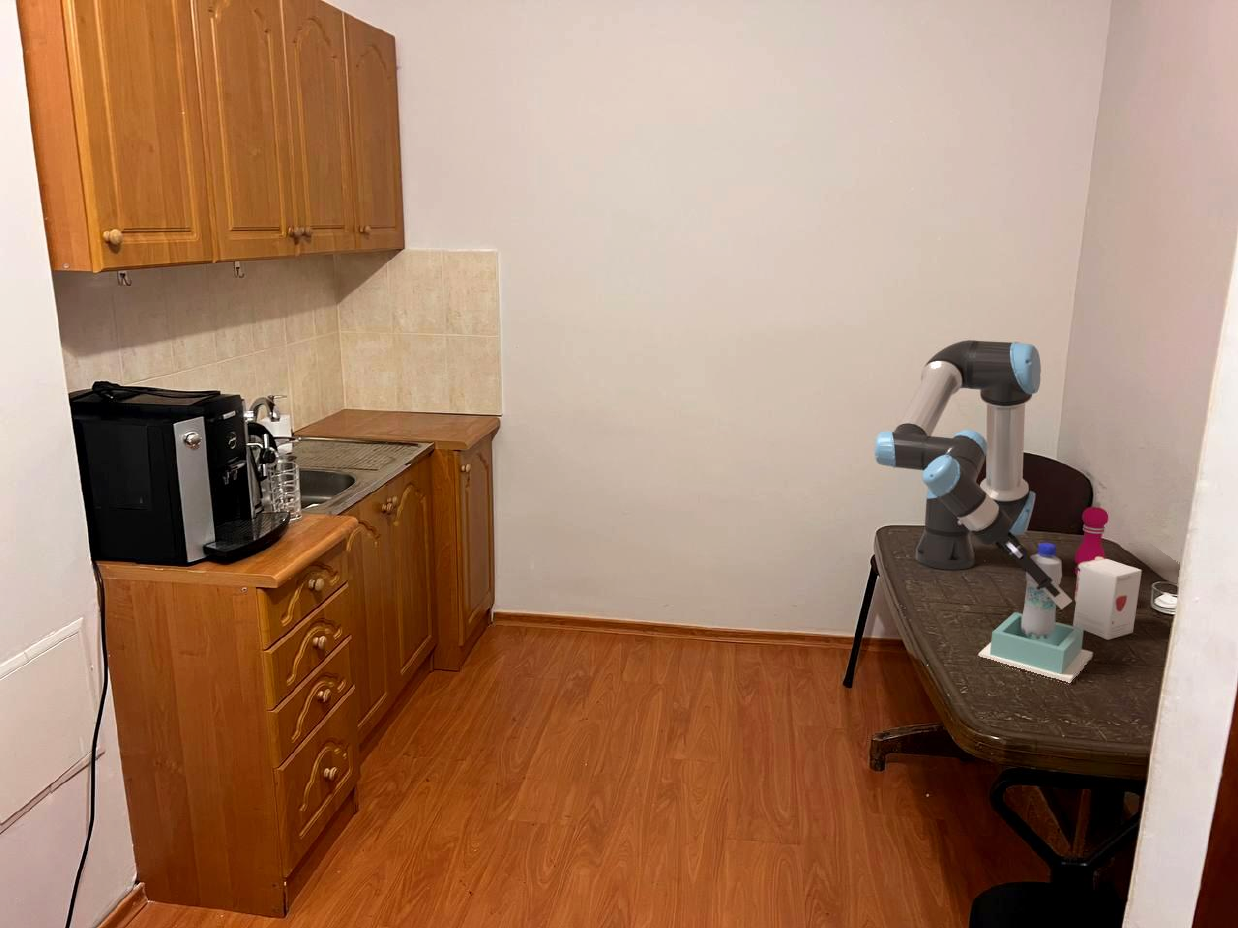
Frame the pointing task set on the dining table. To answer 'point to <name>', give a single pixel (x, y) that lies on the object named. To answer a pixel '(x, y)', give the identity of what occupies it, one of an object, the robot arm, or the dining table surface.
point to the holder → (1039, 649)
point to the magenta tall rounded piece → (1092, 535)
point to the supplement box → (1107, 598)
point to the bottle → (1041, 595)
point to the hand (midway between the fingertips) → (1059, 597)
